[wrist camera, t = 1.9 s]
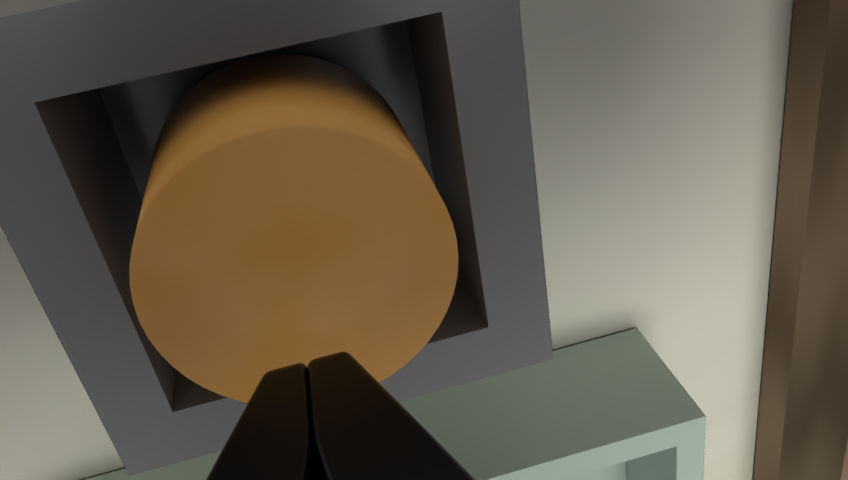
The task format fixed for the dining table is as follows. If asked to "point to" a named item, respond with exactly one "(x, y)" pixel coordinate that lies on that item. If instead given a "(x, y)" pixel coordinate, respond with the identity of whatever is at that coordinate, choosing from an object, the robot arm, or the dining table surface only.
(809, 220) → the walnut pallet
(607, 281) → the dining table surface
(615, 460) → the sage tote
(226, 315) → the button
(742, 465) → the dining table surface
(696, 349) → the dining table surface
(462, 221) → the button housing
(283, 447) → the robot arm
